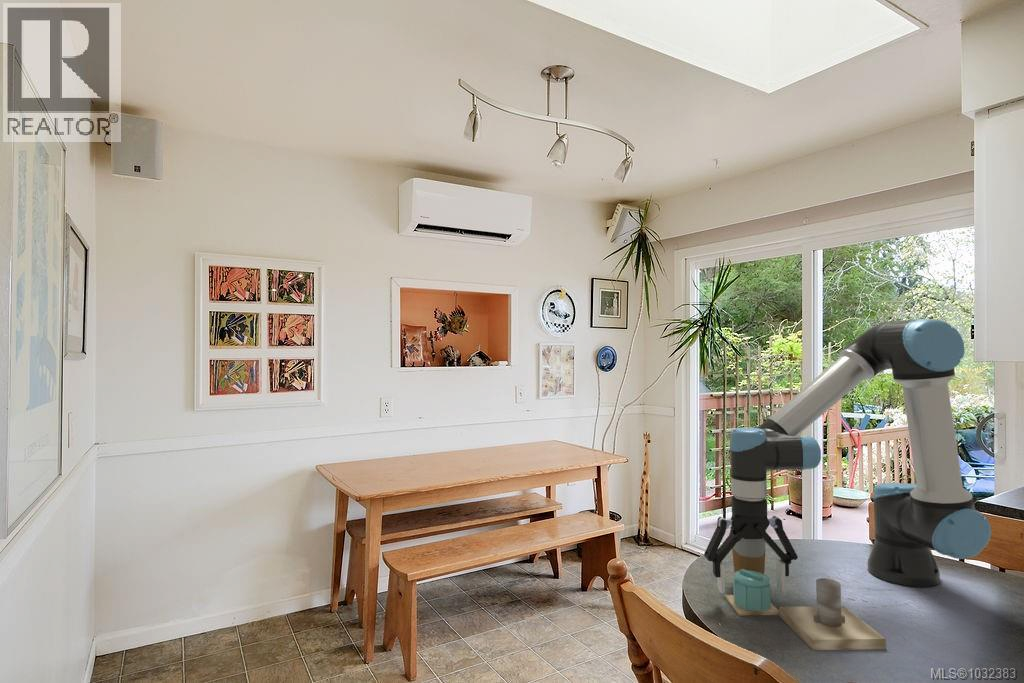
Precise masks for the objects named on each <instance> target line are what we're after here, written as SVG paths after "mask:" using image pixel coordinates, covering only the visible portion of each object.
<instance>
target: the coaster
mask: <svg viewBox="0 0 1024 683" xmlns="http://www.w3.org/2000/svg"><path fill="white" fill-rule="evenodd" d="M724 599H725V600H726V601H727V602H728V604H729V605H730V606H731V608H732V609H733V610H734V611H735V612H736V613H737V614H738V616H780V615H779V608H777V607H776V606H775V605H774V604H773V602H771V608H770V609H767V610H764V611H752V610H746V609H744V608H741V607H739V606H737V605H735V602H734V594H724Z"/></svg>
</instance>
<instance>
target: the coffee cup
mask: <svg viewBox="0 0 1024 683" xmlns="http://www.w3.org/2000/svg"><path fill="white" fill-rule="evenodd" d="M732 529H733V527H732V525H730V531H729V533H730V532H731V531H732ZM731 551H732V561H733V563H732V564H733V572H734V573H735V572H737V571H740V570H741V569H745V570H748V571H755V572H759V573H762V574H764V575H765V570H766V569H765V566H766V541H765V540H764V539H763V538H762V537H760V538H759V539H753V538H751V539H744V538H742V539H741V540H740V541H739V542H737V543H736V544H735V546H734V547H733V548H732V549H731Z"/></svg>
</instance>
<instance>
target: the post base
mask: <svg viewBox="0 0 1024 683" xmlns="http://www.w3.org/2000/svg"><path fill="white" fill-rule="evenodd" d="M815 582H816V583H815V586H816V606H813V605H812V606H810V605H809V606H779V607H778V610H779V615H778V616H779V617H780V618H781V619H782V620H783V621H784V622H785V623H786V624H787V625H788V626H789V627H790V628H791V629H792V630H793V631H794V632H795V634H797V636H798V637H800V638H801V640H802V641H804V643H806V645H807V646H808V647H809V648H811V649H812V651H839V650H840V651H843V650H844V651H846V650H848V651H849V650H850V651H851V650H852V651H854V650H856V651H857V650H887V639H886V638H885V637H884V636H883V635H882V634H881V633H879V632H878V631H877V630H875V629H874V628H873V627H872V626H870V625H869V624H868V623H867V622H865V621H863V620H862V619H861V618H860V617H859V616H857V614H855V613H853V612H852V611H851V610H849V609H848V608H847V607H846V606H844V605H842V589H841V588H842V586H841V583H840V582H839V581H838V580H834V579H832V578H831V579H830V578H817V579H816V581H815Z"/></svg>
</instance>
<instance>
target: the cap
mask: <svg viewBox="0 0 1024 683" xmlns="http://www.w3.org/2000/svg"><path fill="white" fill-rule="evenodd" d="M732 580H733V582H732V584H733V585H732V586H733V587H732V588H733V595H734V602H735V605H737V606H739V607H741V608H744V609H746V610H752V611H764V610H767V609H770V608H771V603H772V602H771V584H770V578H769V576H768V575H766V574H765V573H764V574H762V573H759V572H755V571H748V570H745V569H741V570H740V571H737V572H734V573H733V577H732Z"/></svg>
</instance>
